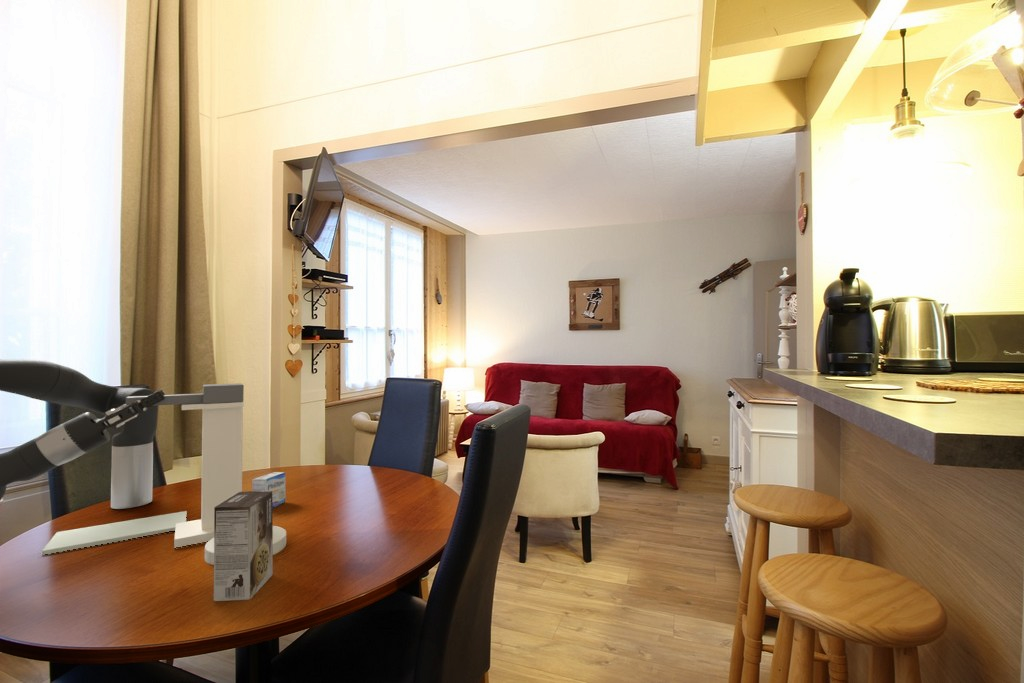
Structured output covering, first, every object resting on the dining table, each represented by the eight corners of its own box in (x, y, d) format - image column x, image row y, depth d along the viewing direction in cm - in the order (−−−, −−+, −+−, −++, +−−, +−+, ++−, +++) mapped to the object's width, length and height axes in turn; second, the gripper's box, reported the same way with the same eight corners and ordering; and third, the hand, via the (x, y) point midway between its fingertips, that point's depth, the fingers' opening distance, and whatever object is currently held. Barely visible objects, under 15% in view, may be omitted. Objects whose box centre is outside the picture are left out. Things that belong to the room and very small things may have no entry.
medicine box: (266, 511, 125) (266, 479, 125) (251, 510, 126) (252, 478, 126) (285, 502, 133) (286, 472, 133) (272, 501, 133) (272, 471, 134)
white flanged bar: (175, 531, 111) (177, 402, 112) (243, 519, 119) (244, 398, 120) (174, 548, 101) (175, 406, 102) (247, 534, 109) (248, 402, 110)
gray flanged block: (128, 404, 105) (129, 387, 105) (240, 399, 117) (240, 383, 118) (124, 407, 98) (124, 389, 98) (243, 401, 111) (243, 384, 111)
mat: (56, 536, 109) (56, 532, 109) (186, 514, 123) (186, 510, 123) (42, 555, 98) (42, 550, 98) (186, 529, 112) (186, 525, 112)
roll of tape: (300, 546, 102) (300, 533, 102) (225, 574, 89) (225, 559, 89) (263, 532, 111) (263, 520, 111) (191, 555, 98) (191, 542, 98)
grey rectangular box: (238, 576, 88) (239, 491, 88) (273, 575, 88) (274, 489, 89) (211, 602, 78) (212, 506, 79) (250, 600, 79) (251, 505, 79)
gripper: (53, 428, 90) (151, 381, 99) (69, 420, 102) (155, 378, 110) (79, 459, 92) (172, 410, 101) (91, 447, 103) (174, 404, 112)
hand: (163, 394), depth 105 cm, fingers closed on gray flanged block, 4 cm apart
